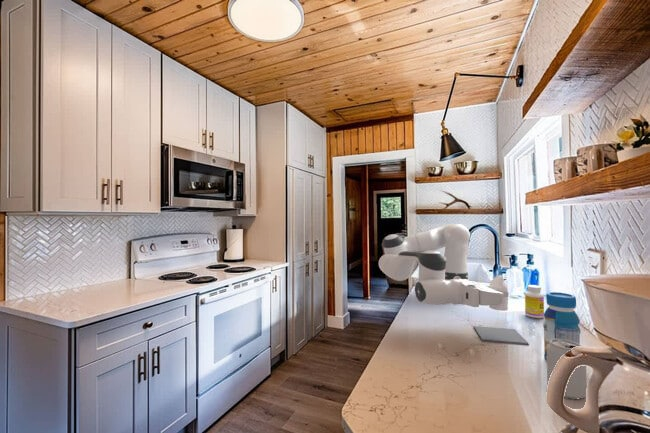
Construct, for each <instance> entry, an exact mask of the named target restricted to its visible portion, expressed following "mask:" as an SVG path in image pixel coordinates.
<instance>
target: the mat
mask: <svg viewBox="0 0 650 433" xmlns="http://www.w3.org/2000/svg"><path fill="white" fill-rule="evenodd" d="M473 329H474V330H475V332H476V334H478V337H479V338H480V339H481V341H482V342H492V343H500V344H501V343H502V344H503V343H504V344H514V345H525V346H526V345H527V346H529V345H530V344H529V342H528V341H527V340H526V339H525V338H524V337H523V336H522V335H521V334H520V333H519V332H518V331H517V330H516V329H515V328H505V327H503V328H502V327H492V326H479V325H478V326H477V325H473Z"/></svg>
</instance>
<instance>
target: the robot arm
mask: <svg viewBox="0 0 650 433" xmlns="http://www.w3.org/2000/svg"><path fill="white" fill-rule="evenodd" d="M470 239H471V233H470V231H469V230H468V228H467V227H466V226H464V225H463V224H456V223H449V224H445V225H441V226H439V227H435V228H432V229H429V230H426V231H422V232H418V233H414V234H410V235H408V236H405V237H402V235H400V234H397V233H394V234H393V233H392V234H388V235H387V236H385V237H384V238H383V240H382V247H383V251H384V254H383V255H382V256H381V257H380V258H379V260H378V267H379V269H380V271H382V273H383V274H385V275H386V276H387V277H389V278H391V280H394V281H398V282H401V281H402V282H403V281H405V280H407V279H409V278H410V277H411V276H412V274H413V272H414V267H415V263H416V262H418V279H417V280H418V281H417V282H416V283H415V285H414V293H415V297H416V299H417V301H418V302H420V303H422V304H429V305H447V304H451V305H461V306H462V305H463V306H469V307H472V308H479V307H480V306H489V305H500V304H503V300H504V297H508V298H509V292H506V291H501V292H499V291H496V290H494V289H492V288H489V286H490V285H484V284H481V283H479V282H477V281H474V280H469V272H468V260H467V259H468V250H469V244H470ZM440 249H444V253H442V252H440V251H437V250H440Z"/></svg>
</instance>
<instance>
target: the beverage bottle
mask: <svg viewBox="0 0 650 433" xmlns="http://www.w3.org/2000/svg"><path fill="white" fill-rule="evenodd" d="M545 297H546V298H545V299H546V304H547V306H548V307H547V308H546V309H545V310H544V317H543V318H544V321H543V324H542V325H543V326H542V327H543V341H544V342H543V343H544V344H543V346H544V347H543V348H544V351H543V352H544V355H543V356H544V357H543V358H544V361H545V362H546V363H547V345H548V344H549V343H550V340H551V339H566V340H570V341H573V342H576V343H578V344H580V343H581V340H580V338H581V337H580V336H581V328H580V326H579V324H580V317H579V315H578V314H577V313H576V311H575V309H576V307H577V297H576V296H575V295H574V294H571V293H566V292H557V291H556V292H555V291H551V292H549V291H548V292H547V293H546V296H545ZM580 345H581V344H580Z"/></svg>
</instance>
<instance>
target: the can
mask: <svg viewBox="0 0 650 433" xmlns="http://www.w3.org/2000/svg"><path fill="white" fill-rule="evenodd" d="M576 346H582V344H578V343H576V342H573V341H570V340H566V339H551V340H550V343H549V344H548V345H547V362H546V385H547V384H548V381H549V378H550V375H551V373H552V371H553V369H554V367H555V365H556V363H557V361H558V360H559V359H560V357H561V356H562V355H563V354H565V353H566V352H567V351H569V350H571V349H572V348H573V347H576ZM586 388H587V365H586V366H580V367H578V368H576V369H575V371H574V372H573V374H572V375H571V377H570V379H569V382H568V384H567V388H566V392H565V397H564V399H565V398H566V399H568V398H572V399H571V400H575V399H577V398H581V399H583V398H586V396H587V395H586ZM585 395H586V396H585Z"/></svg>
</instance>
